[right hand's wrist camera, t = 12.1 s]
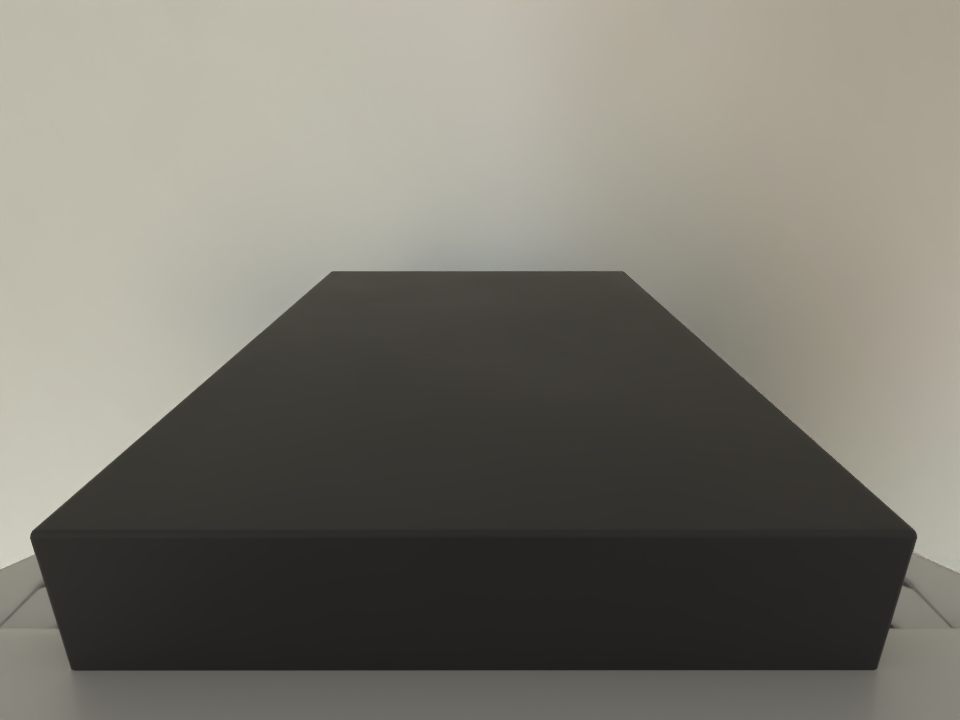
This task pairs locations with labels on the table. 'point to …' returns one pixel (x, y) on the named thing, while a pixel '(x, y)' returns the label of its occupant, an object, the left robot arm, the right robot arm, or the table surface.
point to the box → (474, 500)
